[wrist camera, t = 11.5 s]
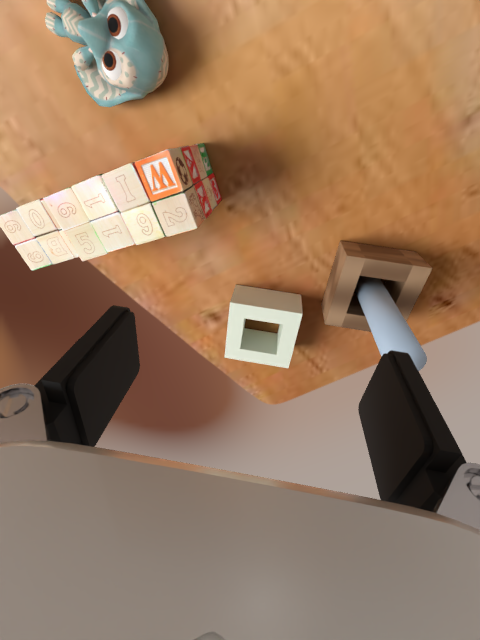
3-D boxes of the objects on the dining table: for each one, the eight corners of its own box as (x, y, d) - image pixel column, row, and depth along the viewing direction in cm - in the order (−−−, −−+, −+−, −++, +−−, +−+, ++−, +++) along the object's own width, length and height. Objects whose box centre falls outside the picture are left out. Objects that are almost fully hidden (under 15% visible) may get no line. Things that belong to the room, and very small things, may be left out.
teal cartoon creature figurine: (3, -115, 21) (150, -41, 21) (79, -55, 27) (194, 3, 27) (7, 68, 27) (122, 130, 26) (69, 84, 33) (164, 135, 32)
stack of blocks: (77, 243, 42) (9, 283, 31) (50, 197, 38) (-36, 224, 28) (223, 199, 36) (198, 229, 26) (205, 140, 33) (168, 148, 23)
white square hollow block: (235, 284, 42) (230, 302, 37) (300, 294, 41) (302, 313, 37) (230, 336, 47) (224, 357, 42) (288, 346, 46) (288, 368, 42)
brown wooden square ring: (340, 240, 37) (346, 255, 32) (415, 251, 36) (432, 268, 32) (321, 304, 42) (325, 324, 37) (387, 314, 41) (398, 336, 37)
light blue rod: (356, 266, 38) (393, 343, 25) (382, 270, 38) (433, 350, 25) (348, 289, 40) (379, 372, 27) (373, 292, 40) (416, 378, 26)
